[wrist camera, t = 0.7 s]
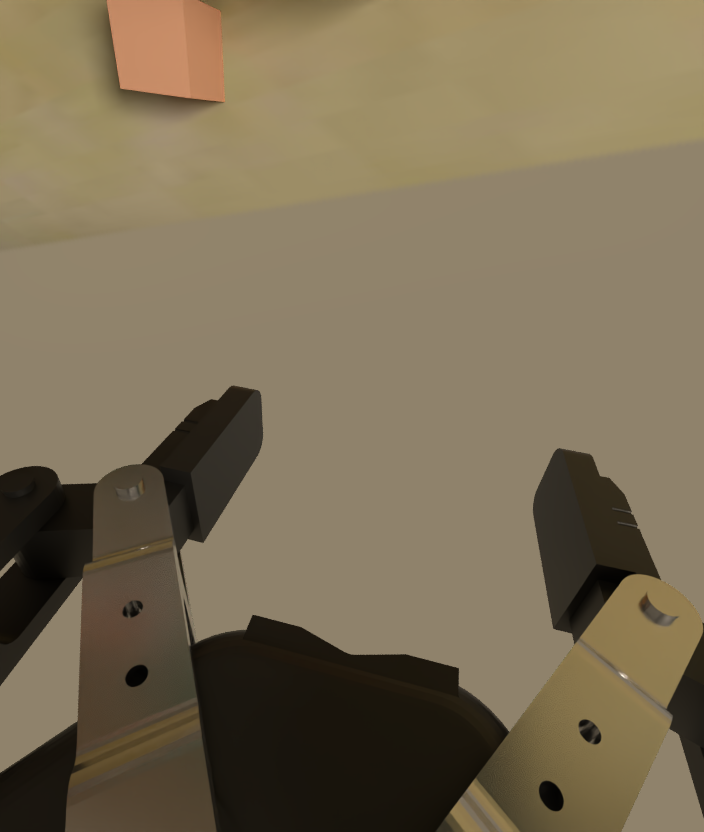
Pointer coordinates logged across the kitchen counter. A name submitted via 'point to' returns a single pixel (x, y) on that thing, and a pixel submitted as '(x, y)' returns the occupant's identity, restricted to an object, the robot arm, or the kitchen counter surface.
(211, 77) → the terracotta block
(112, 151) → the kitchen counter surface
